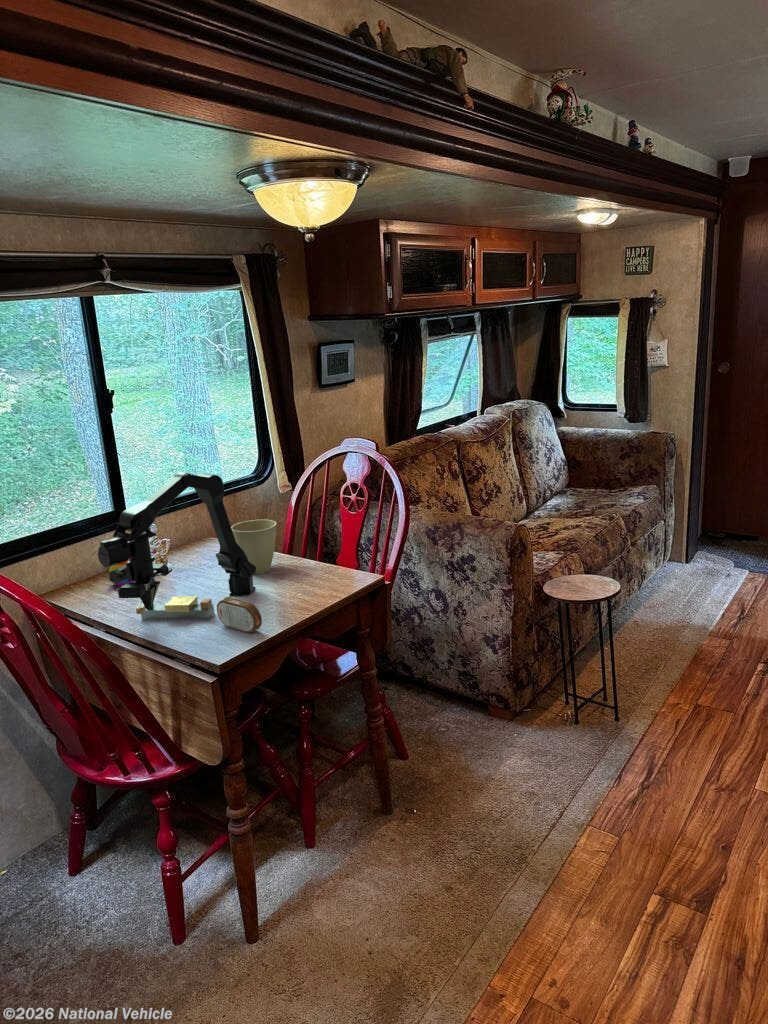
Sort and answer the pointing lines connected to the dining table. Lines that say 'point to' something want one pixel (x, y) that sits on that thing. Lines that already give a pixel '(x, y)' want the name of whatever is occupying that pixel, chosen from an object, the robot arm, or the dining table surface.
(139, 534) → the robot arm
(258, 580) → the dining table surface
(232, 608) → the tin
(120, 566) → the decorative egg
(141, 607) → the cam lever
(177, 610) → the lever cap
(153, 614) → the plane body
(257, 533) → the plant pot
